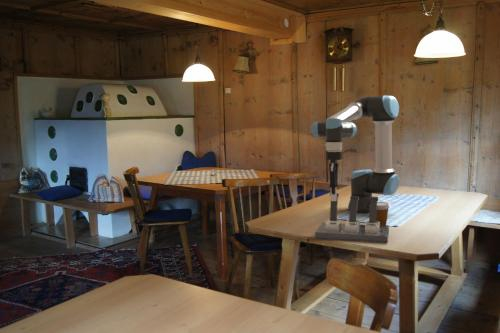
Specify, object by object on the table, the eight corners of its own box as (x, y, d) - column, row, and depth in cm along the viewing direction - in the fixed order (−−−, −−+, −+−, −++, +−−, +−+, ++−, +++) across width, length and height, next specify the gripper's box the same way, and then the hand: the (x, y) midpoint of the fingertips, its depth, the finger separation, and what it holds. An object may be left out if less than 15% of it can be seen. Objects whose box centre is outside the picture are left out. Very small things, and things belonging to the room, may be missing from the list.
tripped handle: (329, 220, 227) (330, 193, 228) (337, 221, 225) (338, 193, 227) (329, 220, 224) (330, 193, 226) (337, 221, 223) (338, 193, 225)
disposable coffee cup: (390, 230, 230) (390, 205, 228) (369, 229, 232) (369, 205, 230) (388, 225, 239) (388, 201, 238) (368, 224, 241) (368, 201, 240)
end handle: (368, 223, 220) (369, 198, 227) (376, 224, 219) (378, 199, 226) (368, 221, 219) (369, 196, 225) (376, 222, 217) (377, 196, 224)
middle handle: (348, 222, 223) (350, 198, 230) (356, 223, 222) (358, 198, 229) (348, 220, 221) (350, 195, 228) (356, 221, 220) (358, 196, 227)
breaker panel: (322, 228, 237) (322, 216, 236) (389, 232, 226) (389, 219, 226) (315, 238, 220) (315, 225, 219) (387, 243, 210) (387, 229, 209)
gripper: (328, 150, 230) (327, 198, 232) (323, 151, 218) (323, 202, 220) (343, 150, 227) (343, 199, 230) (340, 152, 215) (339, 203, 218)
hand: (333, 200), depth 225 cm, fingers closed
